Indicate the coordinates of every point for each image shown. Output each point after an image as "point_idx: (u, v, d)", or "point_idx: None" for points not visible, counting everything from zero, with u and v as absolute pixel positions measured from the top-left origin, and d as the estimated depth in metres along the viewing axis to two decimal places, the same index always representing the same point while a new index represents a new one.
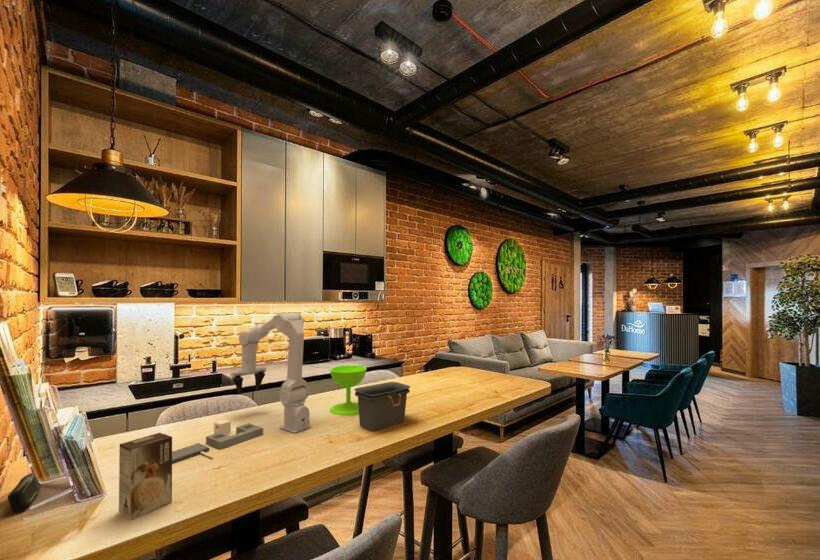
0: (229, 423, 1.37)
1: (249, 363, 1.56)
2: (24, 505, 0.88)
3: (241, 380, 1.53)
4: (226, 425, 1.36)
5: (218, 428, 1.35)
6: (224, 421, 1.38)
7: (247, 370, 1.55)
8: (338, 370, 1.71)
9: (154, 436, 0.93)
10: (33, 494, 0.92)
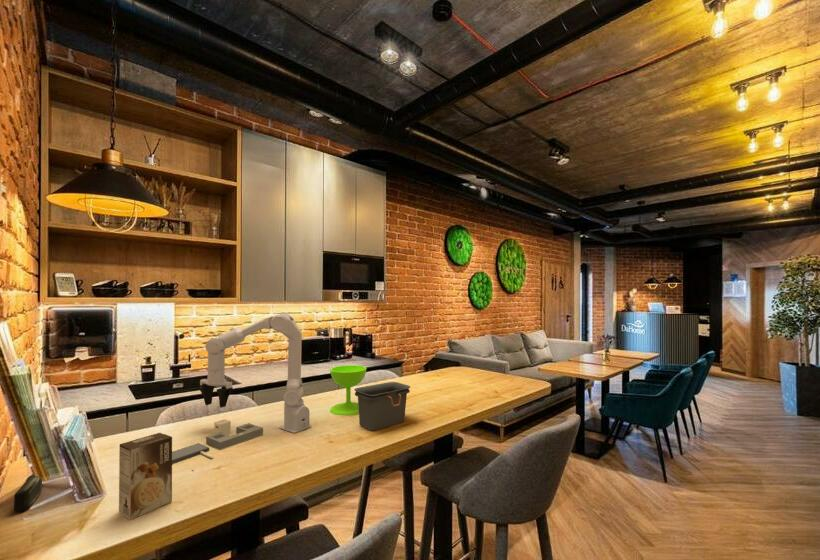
0: (229, 423, 1.37)
1: None
2: (26, 506, 0.89)
3: (202, 390, 1.40)
4: (226, 425, 1.36)
5: (218, 428, 1.35)
6: (224, 421, 1.38)
7: (207, 381, 1.39)
8: (338, 370, 1.71)
9: (154, 436, 0.93)
10: (35, 496, 0.93)
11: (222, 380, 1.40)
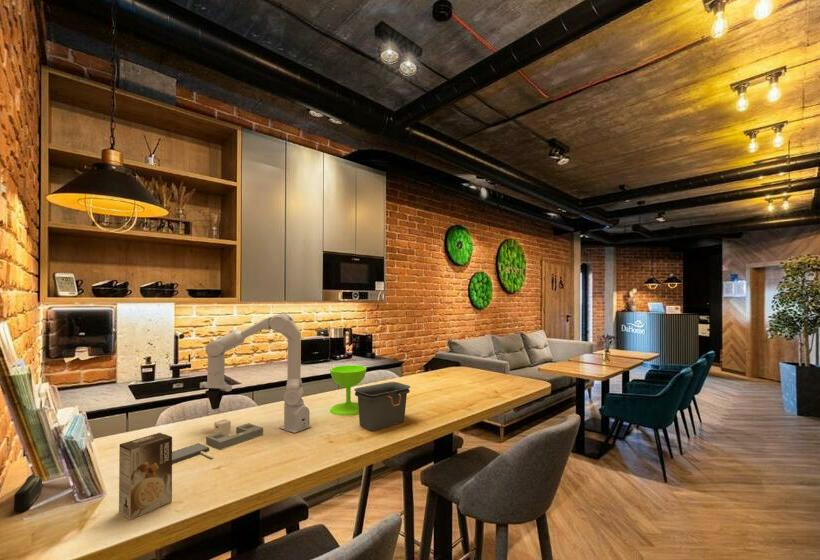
0: (229, 423, 1.37)
1: (208, 376, 1.39)
2: (26, 506, 0.89)
3: (208, 394, 1.39)
4: (226, 425, 1.36)
5: (218, 428, 1.35)
6: (224, 421, 1.38)
7: (206, 384, 1.39)
8: (338, 370, 1.71)
9: (154, 436, 0.93)
10: (35, 496, 0.93)
11: (222, 383, 1.40)
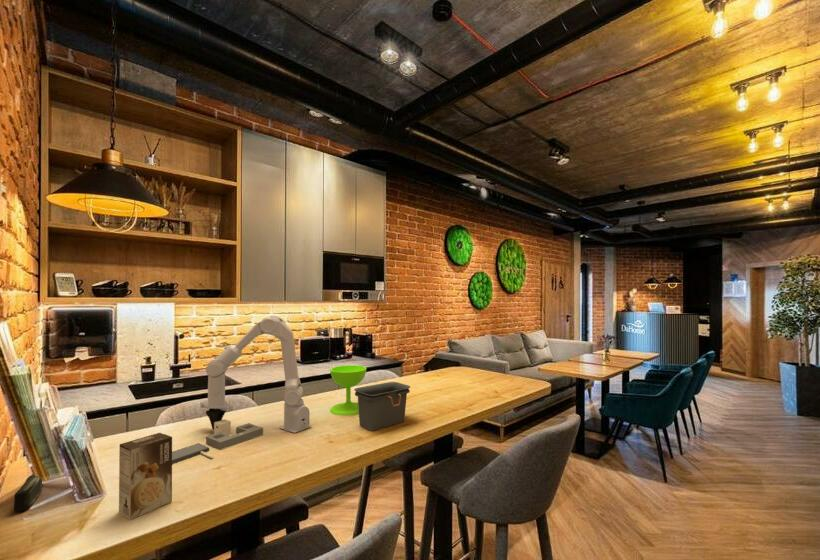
0: (229, 423, 1.37)
1: (208, 396, 1.38)
2: (26, 507, 0.89)
3: (209, 414, 1.38)
4: (226, 425, 1.36)
5: (218, 428, 1.35)
6: (224, 421, 1.38)
7: (207, 404, 1.38)
8: (338, 370, 1.71)
9: (154, 436, 0.93)
10: (35, 496, 0.93)
11: (222, 403, 1.39)
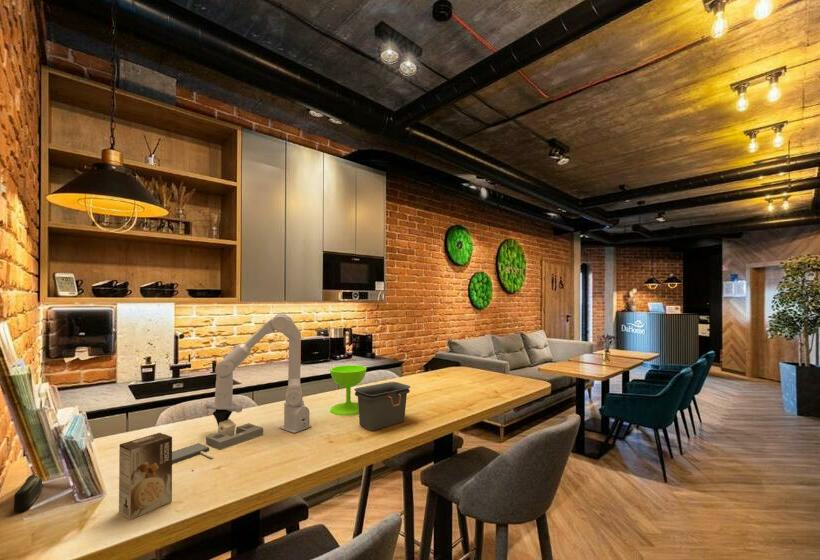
0: (234, 426, 1.35)
1: None
2: (26, 507, 0.89)
3: (216, 415, 1.34)
4: (231, 428, 1.34)
5: (222, 430, 1.33)
6: (229, 423, 1.35)
7: (214, 405, 1.35)
8: (338, 370, 1.71)
9: (154, 436, 0.93)
10: (35, 496, 0.93)
11: (230, 404, 1.37)
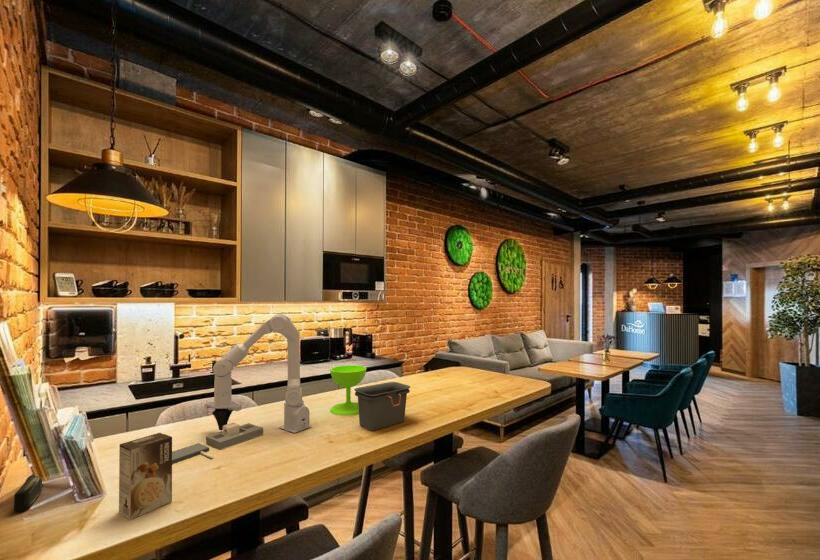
0: (238, 427, 1.34)
1: None
2: (26, 506, 0.89)
3: (216, 414, 1.35)
4: (234, 429, 1.33)
5: (226, 431, 1.32)
6: (233, 424, 1.34)
7: (214, 404, 1.36)
8: (338, 370, 1.71)
9: (154, 436, 0.93)
10: (35, 496, 0.93)
11: (230, 403, 1.37)
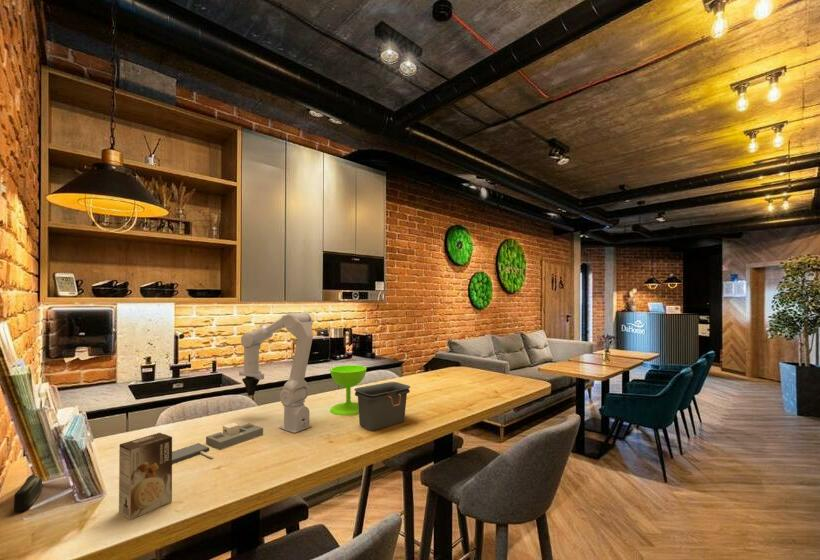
0: (238, 427, 1.34)
1: None
2: (26, 507, 0.89)
3: (244, 381, 1.52)
4: (234, 429, 1.33)
5: (226, 431, 1.32)
6: (233, 424, 1.34)
7: (243, 372, 1.52)
8: (338, 370, 1.71)
9: (154, 436, 0.93)
10: (35, 496, 0.93)
11: (256, 372, 1.52)
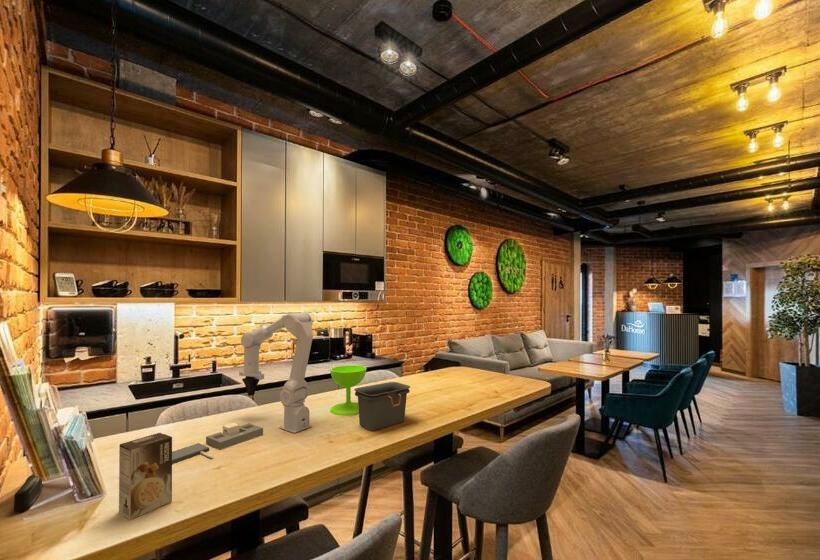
0: (238, 427, 1.34)
1: None
2: (26, 507, 0.89)
3: (244, 381, 1.52)
4: (234, 429, 1.33)
5: (226, 431, 1.32)
6: (233, 424, 1.34)
7: (243, 372, 1.52)
8: (338, 370, 1.71)
9: (154, 436, 0.93)
10: (35, 496, 0.93)
11: (256, 372, 1.52)
